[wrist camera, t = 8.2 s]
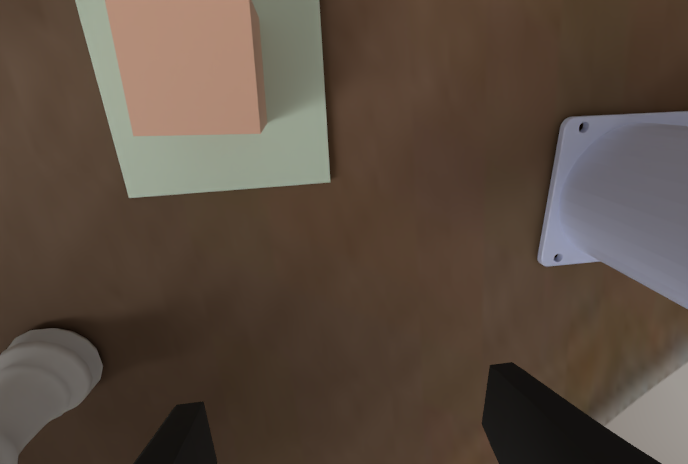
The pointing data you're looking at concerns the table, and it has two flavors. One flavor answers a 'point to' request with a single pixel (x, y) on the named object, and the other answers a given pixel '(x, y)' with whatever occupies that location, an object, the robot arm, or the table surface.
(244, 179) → the base tile
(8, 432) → the rook chess piece
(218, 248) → the table surface
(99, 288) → the table surface
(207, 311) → the table surface
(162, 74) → the terracotta brick
